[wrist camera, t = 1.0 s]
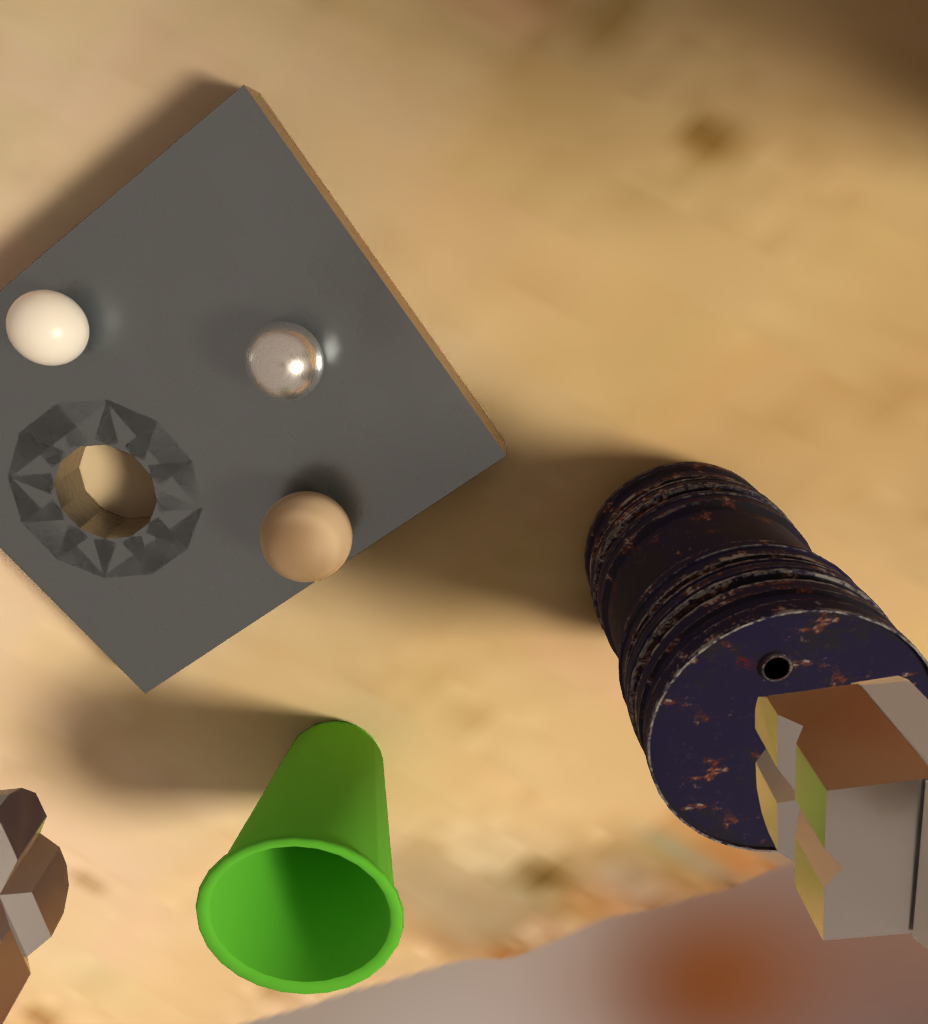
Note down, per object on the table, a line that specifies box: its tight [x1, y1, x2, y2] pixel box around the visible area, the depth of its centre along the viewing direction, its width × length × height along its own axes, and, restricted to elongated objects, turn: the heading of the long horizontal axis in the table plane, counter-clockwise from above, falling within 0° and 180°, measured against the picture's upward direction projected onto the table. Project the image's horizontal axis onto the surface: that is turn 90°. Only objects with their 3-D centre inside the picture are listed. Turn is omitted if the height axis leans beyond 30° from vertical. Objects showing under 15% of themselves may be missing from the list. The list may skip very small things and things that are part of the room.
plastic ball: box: [6, 290, 89, 366], centre depth 32 cm, size 3×3×3 cm
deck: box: [0, 85, 506, 693], centre depth 36 cm, size 22×18×2 cm
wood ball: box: [260, 491, 353, 582], centre depth 35 cm, size 4×4×4 cm
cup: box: [196, 721, 404, 994], centre depth 40 cm, size 9×9×11 cm
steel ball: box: [244, 321, 324, 401], centre depth 33 cm, size 3×3×3 cm
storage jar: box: [585, 462, 928, 852], centre depth 33 cm, size 10×10×15 cm
